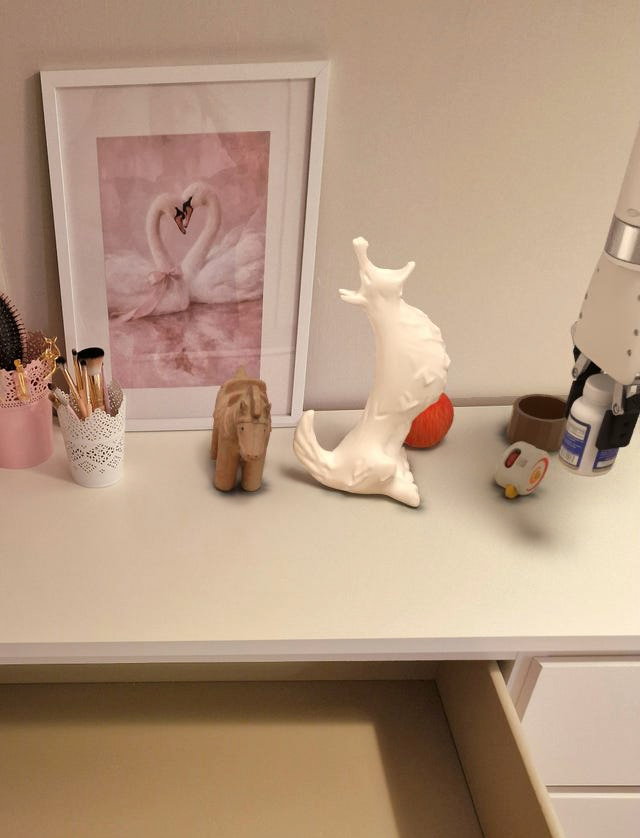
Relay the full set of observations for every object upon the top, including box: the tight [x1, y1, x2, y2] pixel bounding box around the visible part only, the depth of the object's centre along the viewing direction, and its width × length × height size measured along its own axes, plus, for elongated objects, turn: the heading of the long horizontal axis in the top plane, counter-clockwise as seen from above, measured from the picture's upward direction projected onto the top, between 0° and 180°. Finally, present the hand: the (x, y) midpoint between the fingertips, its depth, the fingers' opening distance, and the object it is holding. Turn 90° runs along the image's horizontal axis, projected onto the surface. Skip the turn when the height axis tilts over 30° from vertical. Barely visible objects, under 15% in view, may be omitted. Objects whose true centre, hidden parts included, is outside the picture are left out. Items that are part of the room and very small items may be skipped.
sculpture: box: [292, 236, 452, 508], centre depth 100 cm, size 11×17×30 cm
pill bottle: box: [557, 372, 633, 478], centre depth 85 cm, size 5×5×9 cm
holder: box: [505, 393, 568, 453], centre depth 115 cm, size 8×8×4 cm
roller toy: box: [494, 441, 550, 499], centre depth 106 cm, size 4×6×6 cm
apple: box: [403, 391, 455, 448], centre depth 115 cm, size 8×8×8 cm
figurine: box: [209, 364, 273, 492], centre depth 107 cm, size 7×18×15 cm, turn 3°
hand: (594, 429), depth 85 cm, fingers closed on pill bottle, 5 cm apart
